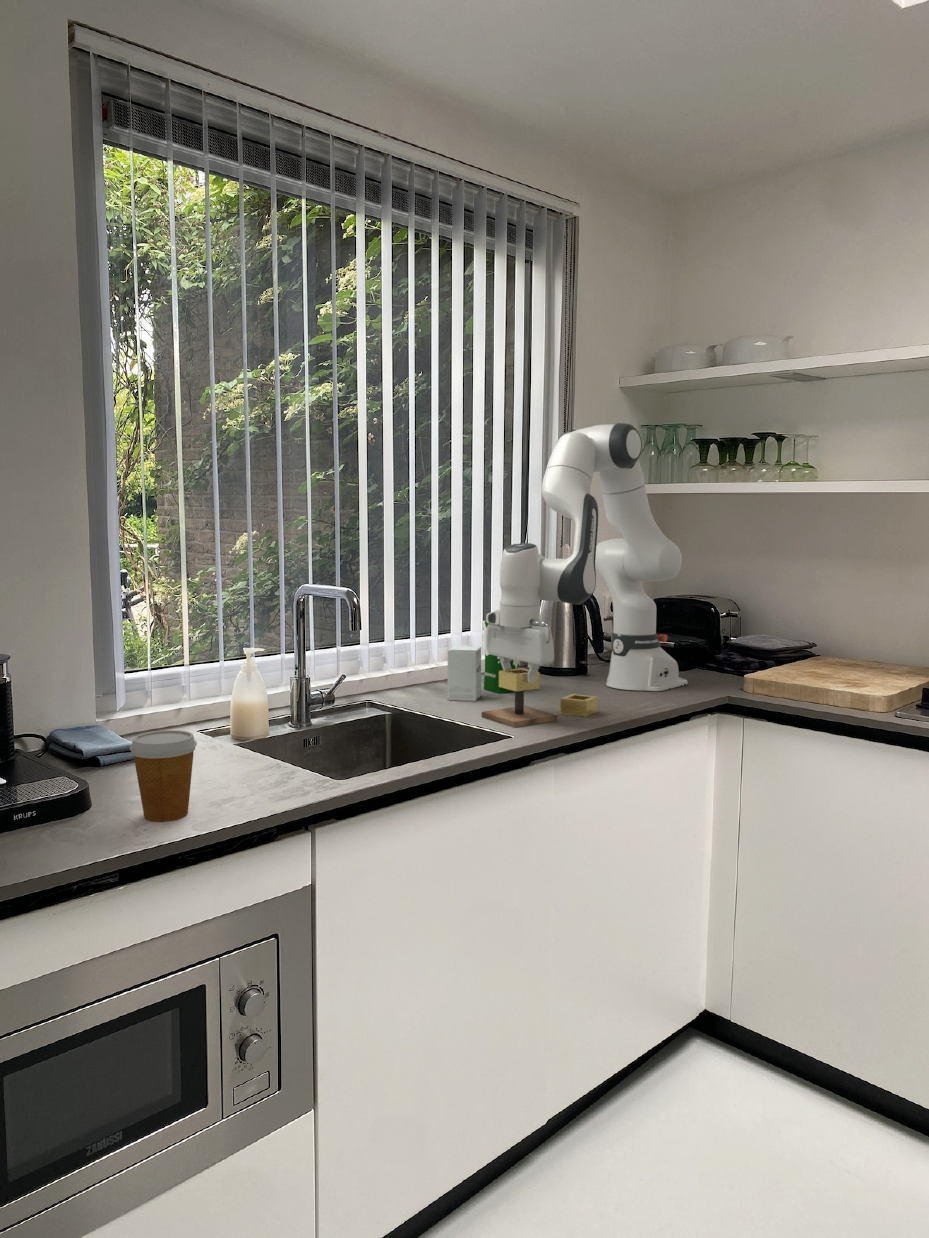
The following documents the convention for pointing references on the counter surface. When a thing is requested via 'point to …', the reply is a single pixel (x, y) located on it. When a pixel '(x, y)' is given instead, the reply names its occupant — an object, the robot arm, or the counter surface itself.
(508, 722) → the stand
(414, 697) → the counter surface
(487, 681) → the milk carton
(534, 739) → the counter surface
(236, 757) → the counter surface
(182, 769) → the disposable coffee cup
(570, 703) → the link
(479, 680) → the supplement box
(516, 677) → the link
